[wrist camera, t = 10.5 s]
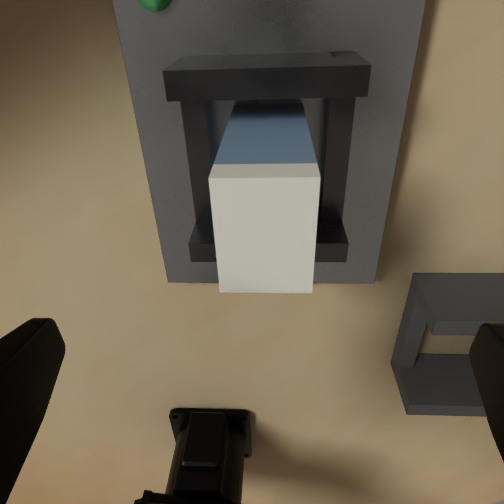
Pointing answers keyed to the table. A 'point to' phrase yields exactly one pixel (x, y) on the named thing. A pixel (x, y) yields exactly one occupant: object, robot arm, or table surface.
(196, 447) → the robot arm
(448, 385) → the holster
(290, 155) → the plug
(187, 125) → the port
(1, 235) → the table surface
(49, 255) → the table surface
